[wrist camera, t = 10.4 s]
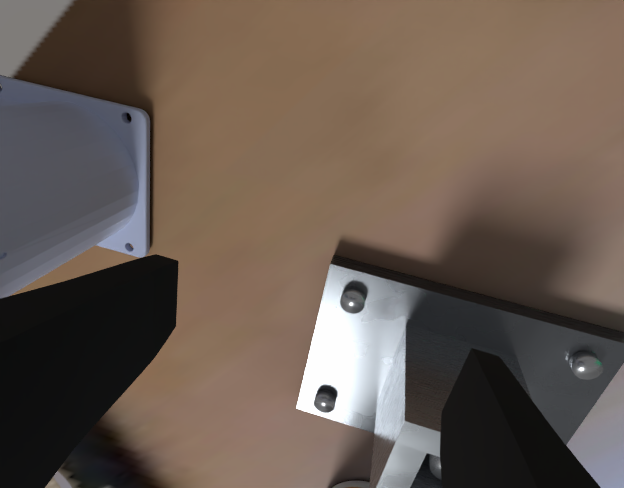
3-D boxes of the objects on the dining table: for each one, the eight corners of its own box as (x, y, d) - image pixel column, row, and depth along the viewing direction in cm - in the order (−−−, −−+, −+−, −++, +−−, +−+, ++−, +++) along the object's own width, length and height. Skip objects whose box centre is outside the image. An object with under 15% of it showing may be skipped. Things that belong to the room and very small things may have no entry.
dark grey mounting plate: (300, 396, 25) (270, 488, 20) (333, 255, 20) (307, 323, 15) (533, 468, 23) (570, 590, 18) (624, 332, 19) (709, 441, 13)
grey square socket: (377, 401, 22) (367, 508, 17) (405, 324, 20) (404, 421, 15) (475, 432, 22) (496, 552, 16) (516, 356, 19) (557, 469, 14)
